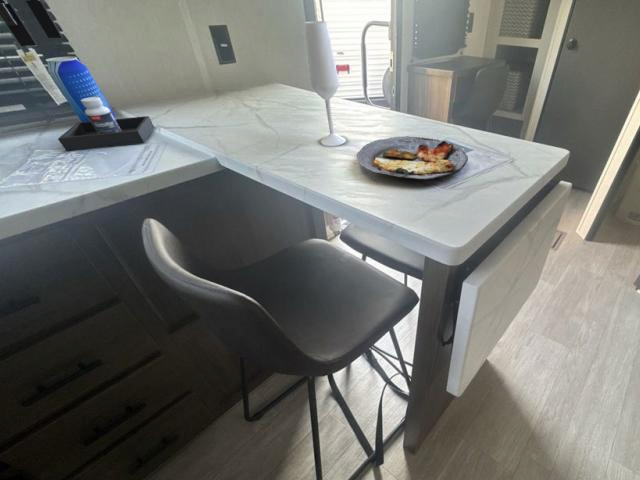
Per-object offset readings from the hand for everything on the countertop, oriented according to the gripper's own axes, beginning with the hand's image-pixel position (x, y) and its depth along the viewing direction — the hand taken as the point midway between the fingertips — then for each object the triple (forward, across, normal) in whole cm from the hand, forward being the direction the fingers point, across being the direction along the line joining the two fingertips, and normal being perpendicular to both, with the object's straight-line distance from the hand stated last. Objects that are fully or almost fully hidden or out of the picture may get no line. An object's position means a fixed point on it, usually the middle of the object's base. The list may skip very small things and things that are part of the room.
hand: (43, 41), depth 72 cm
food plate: (+20, -44, -75) cm, 89 cm away
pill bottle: (+20, -1, -3) cm, 21 cm away
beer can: (+21, +13, +4) cm, 25 cm away
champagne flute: (+20, -23, -60) cm, 67 cm away
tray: (+21, -1, -3) cm, 21 cm away
